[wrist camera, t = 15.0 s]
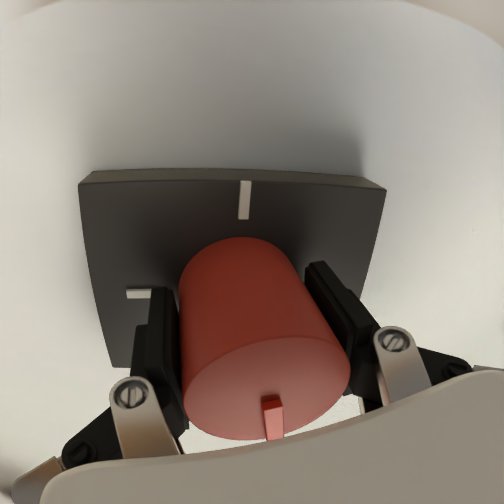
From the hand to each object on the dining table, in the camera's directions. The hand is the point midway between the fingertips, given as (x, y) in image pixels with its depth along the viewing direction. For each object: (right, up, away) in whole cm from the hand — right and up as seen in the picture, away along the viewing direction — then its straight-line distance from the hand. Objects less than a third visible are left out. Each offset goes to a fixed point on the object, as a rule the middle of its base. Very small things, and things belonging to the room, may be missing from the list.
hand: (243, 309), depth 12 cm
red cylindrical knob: (0, +1, +1) cm, 1 cm away
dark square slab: (-1, +2, +3) cm, 3 cm away
